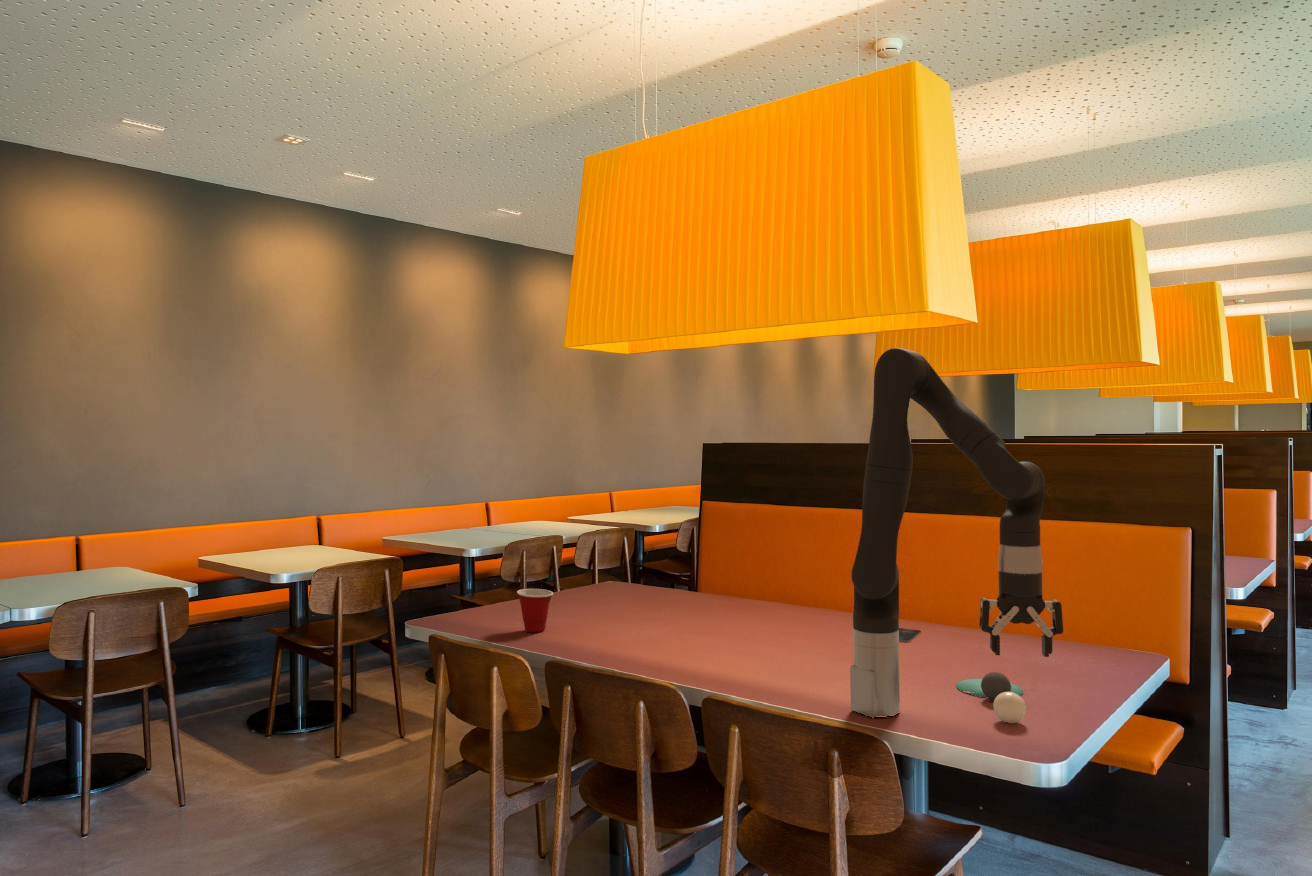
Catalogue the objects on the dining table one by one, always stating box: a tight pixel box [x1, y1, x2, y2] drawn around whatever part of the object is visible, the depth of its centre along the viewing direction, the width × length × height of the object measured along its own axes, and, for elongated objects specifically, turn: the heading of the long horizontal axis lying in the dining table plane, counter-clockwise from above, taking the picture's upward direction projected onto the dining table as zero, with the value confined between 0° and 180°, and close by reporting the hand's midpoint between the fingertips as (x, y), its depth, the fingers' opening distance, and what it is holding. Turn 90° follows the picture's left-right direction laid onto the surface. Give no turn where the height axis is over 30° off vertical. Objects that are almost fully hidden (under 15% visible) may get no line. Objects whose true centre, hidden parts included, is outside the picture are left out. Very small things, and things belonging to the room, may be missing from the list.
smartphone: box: [899, 627, 922, 643], centre depth 239 cm, size 8×1×15 cm
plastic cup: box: [516, 588, 554, 633], centre depth 250 cm, size 11×11×12 cm
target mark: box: [955, 678, 1024, 698], centre depth 189 cm, size 14×14×1 cm
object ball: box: [981, 671, 1012, 701], centre depth 181 cm, size 6×6×6 cm
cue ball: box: [992, 692, 1027, 724], centre depth 167 cm, size 6×6×6 cm
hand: (1020, 655), depth 157 cm, fingers open, 8 cm apart
